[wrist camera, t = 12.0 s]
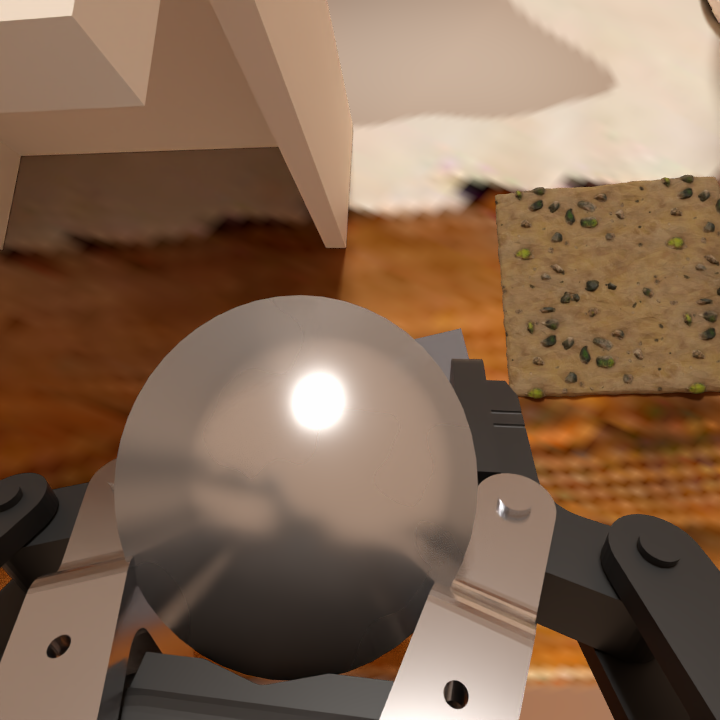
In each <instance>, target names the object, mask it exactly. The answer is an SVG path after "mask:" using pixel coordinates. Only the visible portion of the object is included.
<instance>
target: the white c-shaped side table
mask: <svg viewBox="0 0 720 720" xmlns="http://www.w3.org/2000/svg"><path fill="white" fill-rule="evenodd" d="M352 136H353V124H352V119H351V114H350V109H349V105H348V100H347V95H346V90H345V85H344V80H343V76H342V71H341V66H340V61H339V56H338V51H337V46H336V41H335V37H334V32H333V28H332V22H331V17H330V12H329V7H328V3H327V0H0V250H3V245H4V240H5V235H6V230H7V225H8V220H9V214H10V209H11V204H12V199H13V194H14V189H15V184H16V179H17V174H18V169H19V164H20V159H21V156H32V155H60V154H88V153H116V152H144V151H172V150H200V149H228V148H256V147H279V149H280V151H281V154H282V156H283V158H284V160H285V162H286V164H287V166H288V168H289V171H290V173H291V175H292V177H293V179H294V181H295V183H296V185H297V188H298V190H299V192H300V194H301V196H302V198H303V200H304V202H305V205H306V207H307V209H308V211H309V213H310V215H311V217H312V219H313V221H314V224H315V226H316V228H317V230H318V232H319V234H320V236H321V238H322V241H323V243H324V245H325V247H326V248H346V239H347V222H348V205H349V187H350V170H351V153H352Z"/></svg>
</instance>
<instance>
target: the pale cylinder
mask: <svg viewBox="0 0 720 720" xmlns="http://www.w3.org/2000/svg"><path fill="white" fill-rule="evenodd" d="M477 491H478V479H477V462H476V455H475V450H474V444H473V439H472V434H471V431H470V428H469V425H468V422H467V419H466V416H465V413H464V409H463V407H462V405H461V403H460V401H459V399H458V397H457V395H456V393H455V391H454V389H453V387H452V385H451V384H450V382H449V380H448V379H447V377H446V376H445V374H444V373H443V371H442V370H441V368H440V367H439V365H438V364H437V363H436V362H435V361H434V360H433V358H432V357H431V356H430V355H429V354H428V353H427V351H426V350H425V349H424V348H423V347H422V346H421V345H420V344H419V343H417V342H416V341H415V340H414V339H413V338H412V337H411V336H410V335H409V334H407V333H406V332H405V331H404V330H402V329H401V328H399V327H398V326H396V325H395V324H393V323H392V322H390V321H389V320H387V319H386V318H384V317H382V316H380V315H378V314H376V313H374V312H372V311H370V310H368V309H366V308H363V307H360V306H357V305H354V304H351V303H348V302H345V301H341V300H336V299H331V298H326V297H319V296H305V295H295V296H278V297H273V298H267V299H262V300H257V301H254V302H251V303H247V304H244V305H241V306H238V307H235V308H233V309H231V310H229V311H227V312H224V313H222V314H220V315H218V316H216V317H214V318H213V319H211V320H209V321H208V322H206V323H205V324H203V325H201V326H200V327H198V328H197V329H195V330H194V331H193V332H192V333H190V334H189V335H188V336H187V337H185V338H184V339H183V340H182V341H180V342H179V343H178V344H177V345H176V346H175V347H174V348H173V349H172V350H171V351H170V352H169V353H168V354H167V355H166V356H165V357H164V358H163V360H162V361H161V362H160V364H159V365H158V366H157V367H156V369H155V370H154V371H153V373H152V374H151V375H150V377H149V378H148V380H147V381H146V383H145V385H144V386H143V388H142V390H141V391H140V393H139V395H138V396H137V399H136V401H135V403H134V405H133V407H132V410H131V412H130V414H129V416H128V419H127V422H126V425H125V428H124V431H123V434H122V437H121V441H120V446H119V450H118V455H117V460H116V469H115V481H114V501H115V515H116V521H117V528H118V534H119V538H120V542H121V545H122V549H123V552H124V556H125V557H128V556H133V555H134V560H135V570H136V581H137V586H138V587H139V589H140V591H141V592H142V594H143V596H144V598H145V599H146V601H147V603H148V604H149V605H150V606H151V608H152V609H153V610H154V612H155V613H156V614H157V615H158V617H159V618H160V619H161V621H162V622H163V623H164V624H165V625H166V626H167V627H168V628H169V629H170V630H171V631H172V632H173V633H174V634H175V635H176V636H177V637H178V638H180V639H181V640H182V641H183V642H185V643H186V644H187V645H189V646H190V647H191V648H193V649H194V650H196V651H197V652H198V653H200V654H201V655H203V656H205V657H207V658H209V659H211V660H212V661H214V662H216V663H218V664H220V665H222V666H224V667H227V668H230V669H232V670H235V671H238V672H241V673H243V674H246V675H251V676H256V677H261V678H266V679H271V680H296V679H302V678H307V677H313V676H319V675H324V674H341V673H345V672H348V671H351V670H353V669H356V668H358V667H360V666H363V665H365V664H367V663H370V662H372V661H374V660H375V659H377V658H379V657H380V656H382V655H384V654H385V653H387V652H389V651H390V650H392V649H394V648H395V647H396V646H398V645H399V644H400V643H401V642H403V641H404V640H405V639H406V638H407V637H409V636H410V635H411V634H412V633H414V631H415V628H416V626H417V623H418V621H419V618H420V615H421V613H422V610H423V608H424V605H425V603H426V600H427V598H428V595H429V593H430V591H431V589H432V587H433V585H434V583H435V582H436V583H439V584H442V585H445V586H447V587H450V586H451V584H452V582H453V580H454V578H455V576H456V574H457V572H458V570H459V568H460V566H461V564H462V562H463V559H464V556H465V553H466V550H467V547H468V544H469V542H470V539H471V534H472V529H473V524H474V519H475V514H476V505H477Z"/></svg>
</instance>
